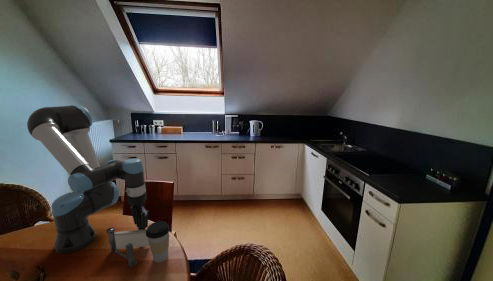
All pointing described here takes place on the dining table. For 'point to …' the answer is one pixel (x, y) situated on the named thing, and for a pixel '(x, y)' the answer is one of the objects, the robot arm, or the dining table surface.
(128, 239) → the gate
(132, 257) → the post
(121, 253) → the bar
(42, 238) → the dining table surface
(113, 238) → the hinge post
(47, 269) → the dining table surface
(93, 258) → the dining table surface
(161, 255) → the coffee cup
